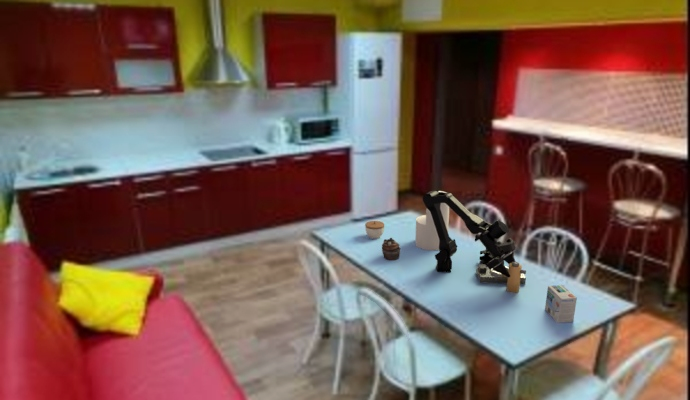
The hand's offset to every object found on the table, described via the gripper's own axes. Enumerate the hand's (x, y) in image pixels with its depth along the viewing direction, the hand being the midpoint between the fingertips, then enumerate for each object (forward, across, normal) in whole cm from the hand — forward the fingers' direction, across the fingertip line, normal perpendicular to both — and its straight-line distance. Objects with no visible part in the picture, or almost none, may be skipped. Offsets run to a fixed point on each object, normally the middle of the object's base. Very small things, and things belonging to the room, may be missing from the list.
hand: (513, 272), depth 208 cm
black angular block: (-6, +19, +18) cm, 27 cm away
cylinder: (-32, +24, +43) cm, 59 cm away
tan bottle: (+6, 0, +6) cm, 8 cm away
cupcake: (-38, -3, +49) cm, 62 cm away
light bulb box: (+22, -9, -10) cm, 26 cm away
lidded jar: (-54, +14, +65) cm, 86 cm away
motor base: (0, +7, +12) cm, 14 cm away
